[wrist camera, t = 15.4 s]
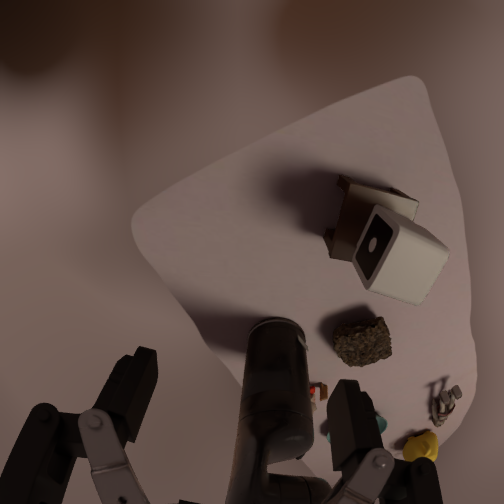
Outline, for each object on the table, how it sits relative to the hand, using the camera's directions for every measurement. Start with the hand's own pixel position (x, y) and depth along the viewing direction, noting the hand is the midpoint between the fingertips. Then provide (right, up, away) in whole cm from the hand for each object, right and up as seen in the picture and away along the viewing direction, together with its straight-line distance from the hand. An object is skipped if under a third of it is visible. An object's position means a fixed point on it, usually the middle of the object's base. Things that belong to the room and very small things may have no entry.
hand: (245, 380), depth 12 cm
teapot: (+50, -51, +51) cm, 87 cm away
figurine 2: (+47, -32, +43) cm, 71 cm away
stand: (+15, +10, +25) cm, 31 cm away
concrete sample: (+18, -8, +34) cm, 40 cm away
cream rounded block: (+15, +8, +20) cm, 26 cm away
